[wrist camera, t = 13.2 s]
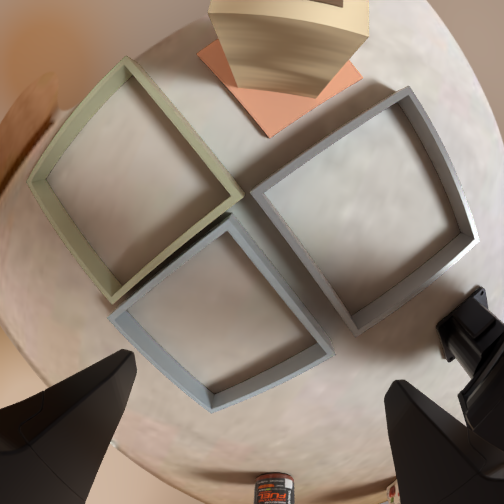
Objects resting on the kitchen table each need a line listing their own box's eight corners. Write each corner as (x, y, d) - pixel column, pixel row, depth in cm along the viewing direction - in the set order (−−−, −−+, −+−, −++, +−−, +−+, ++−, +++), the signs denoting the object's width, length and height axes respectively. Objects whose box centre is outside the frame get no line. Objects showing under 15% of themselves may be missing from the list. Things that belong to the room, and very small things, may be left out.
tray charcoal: (466, 233, 18) (479, 240, 16) (348, 323, 21) (355, 337, 19) (396, 91, 15) (408, 85, 13) (251, 189, 18) (249, 192, 16)
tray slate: (331, 339, 21) (335, 354, 20) (214, 398, 24) (211, 413, 22) (232, 213, 18) (228, 218, 17) (117, 306, 21) (107, 317, 20)
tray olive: (245, 193, 18) (243, 197, 16) (123, 293, 21) (112, 305, 19) (138, 63, 15) (126, 55, 13) (40, 179, 18) (26, 182, 16)
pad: (360, 79, 15) (363, 77, 14) (269, 138, 17) (269, 137, 16) (288, 2, 13) (289, -1, 13) (197, 56, 15) (196, 53, 14)
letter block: (322, 37, 14) (365, -51, 4) (315, 98, 15) (369, 35, 6) (248, 26, 14) (232, -70, 4) (238, 87, 15) (206, 11, 6)
